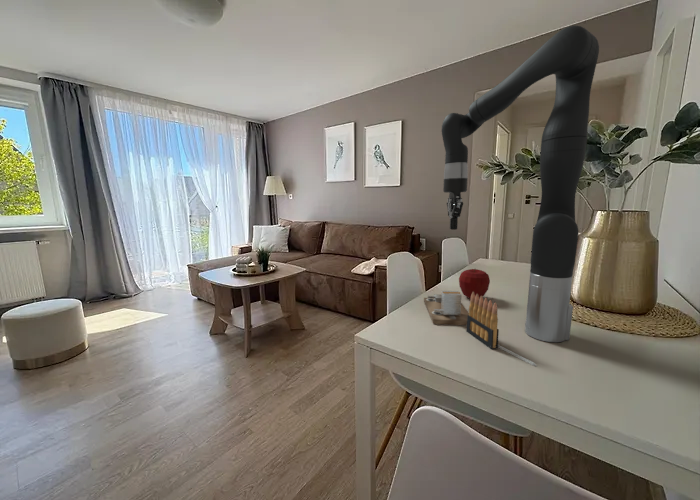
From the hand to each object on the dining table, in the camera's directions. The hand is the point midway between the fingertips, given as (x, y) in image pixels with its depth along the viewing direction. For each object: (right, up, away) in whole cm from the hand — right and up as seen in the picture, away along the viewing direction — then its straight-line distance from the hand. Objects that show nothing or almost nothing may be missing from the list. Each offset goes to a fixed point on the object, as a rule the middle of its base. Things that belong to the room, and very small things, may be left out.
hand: (453, 229), depth 100 cm
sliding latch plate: (-3, -28, -3) cm, 28 cm away
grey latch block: (-5, -27, -9) cm, 29 cm away
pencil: (+3, -33, -28) cm, 43 cm away
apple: (+11, -26, +10) cm, 30 cm away
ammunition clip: (-1, -31, -22) cm, 38 cm away
